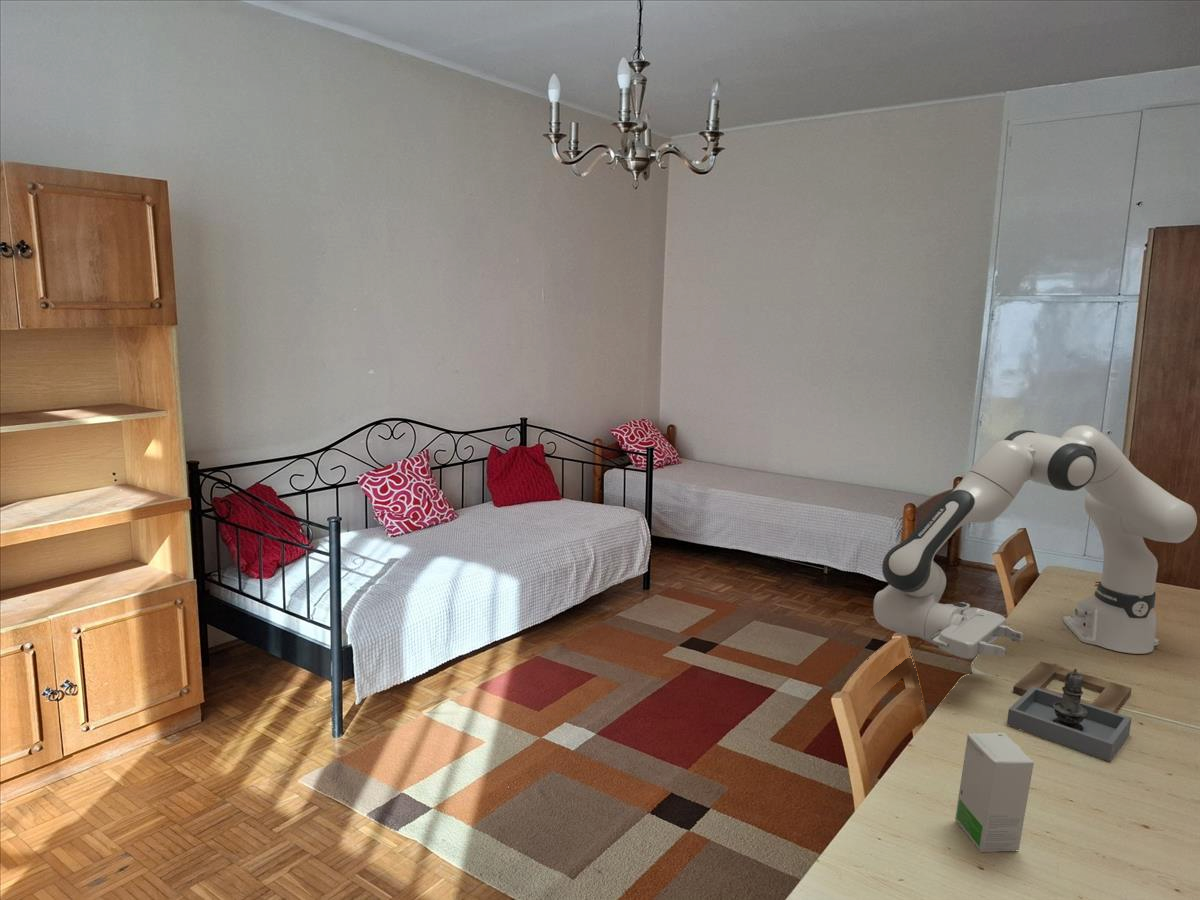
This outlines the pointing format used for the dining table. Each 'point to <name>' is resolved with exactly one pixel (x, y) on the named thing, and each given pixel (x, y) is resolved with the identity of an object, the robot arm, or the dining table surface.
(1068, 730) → the parts tray
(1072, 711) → the dark piece
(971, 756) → the skincare box
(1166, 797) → the dining table surface
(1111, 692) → the socket block
